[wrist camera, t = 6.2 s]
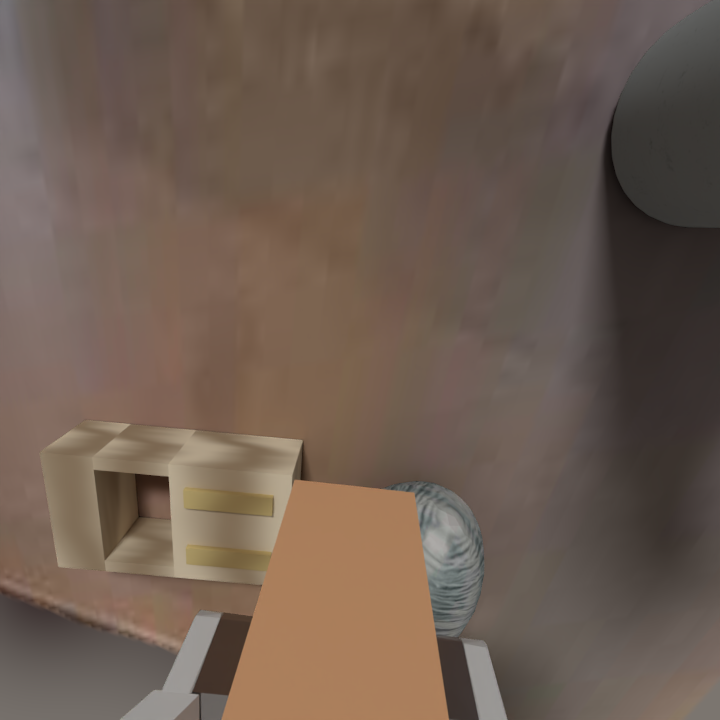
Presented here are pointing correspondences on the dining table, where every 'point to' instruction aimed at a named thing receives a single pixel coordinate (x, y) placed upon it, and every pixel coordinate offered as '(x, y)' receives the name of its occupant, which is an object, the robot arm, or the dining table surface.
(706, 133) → the water bottle
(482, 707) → the robot arm
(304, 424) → the dining table surface
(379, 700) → the orange rectangular block
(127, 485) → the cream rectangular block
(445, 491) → the spool
